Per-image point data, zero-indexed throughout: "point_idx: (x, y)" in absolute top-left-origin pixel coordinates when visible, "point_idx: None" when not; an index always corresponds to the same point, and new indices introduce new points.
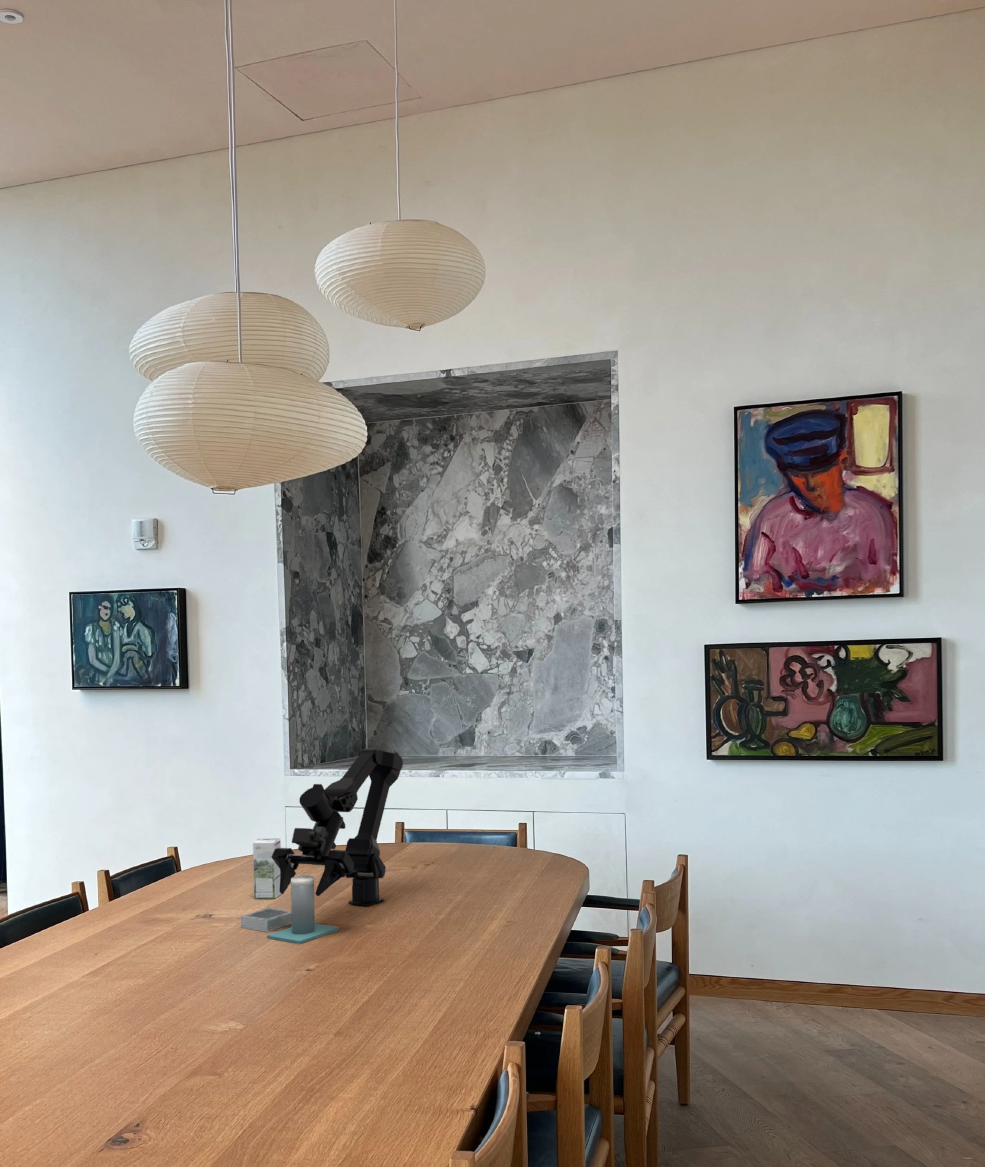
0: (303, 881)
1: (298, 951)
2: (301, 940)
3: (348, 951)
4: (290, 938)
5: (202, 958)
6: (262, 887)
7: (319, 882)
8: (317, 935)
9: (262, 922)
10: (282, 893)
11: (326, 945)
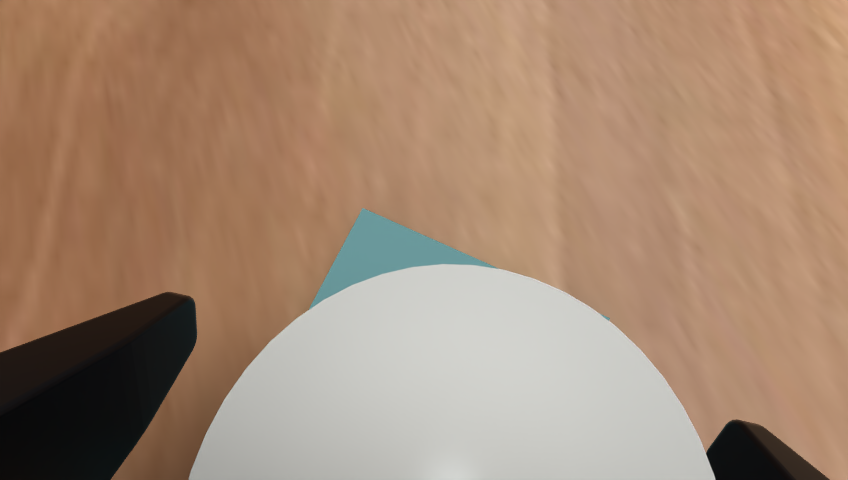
0: (354, 293)
1: (333, 101)
2: (360, 222)
3: (71, 100)
4: (439, 258)
5: (727, 16)
6: None
7: (43, 378)
8: None
9: None
10: (709, 452)
11: (209, 194)
